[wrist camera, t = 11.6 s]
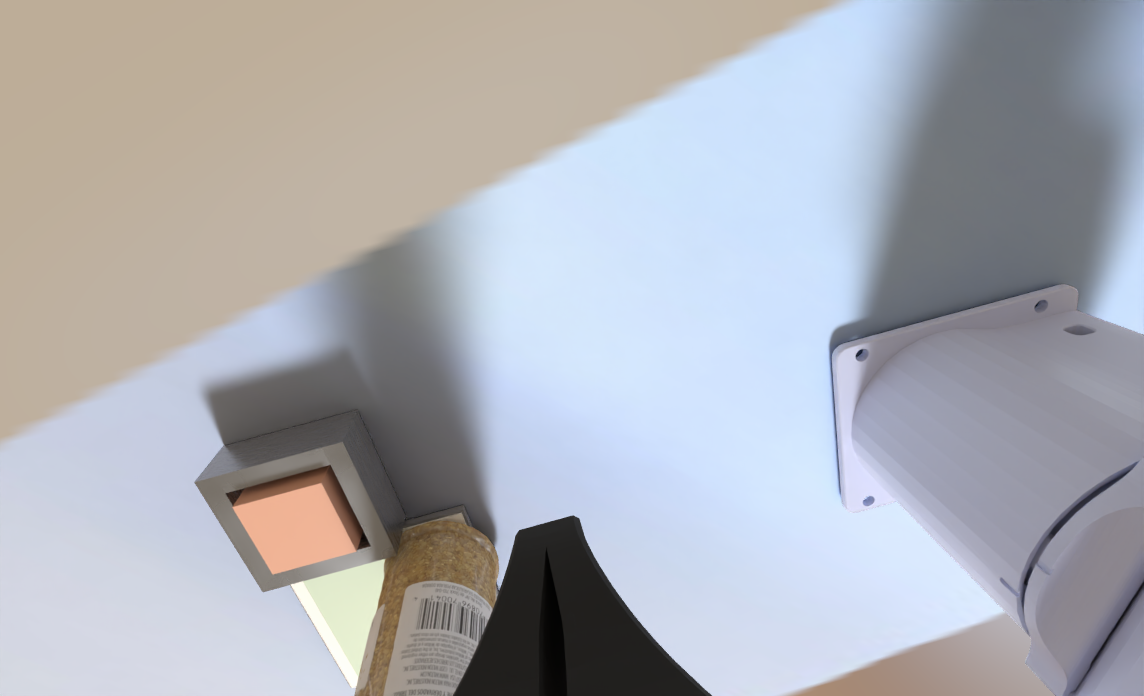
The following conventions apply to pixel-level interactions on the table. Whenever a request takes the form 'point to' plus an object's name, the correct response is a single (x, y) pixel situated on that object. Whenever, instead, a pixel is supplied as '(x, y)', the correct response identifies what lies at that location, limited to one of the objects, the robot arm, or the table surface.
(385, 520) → the button housing
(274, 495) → the button
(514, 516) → the table surface
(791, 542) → the table surface
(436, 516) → the picture board
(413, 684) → the sprinkles bottle
